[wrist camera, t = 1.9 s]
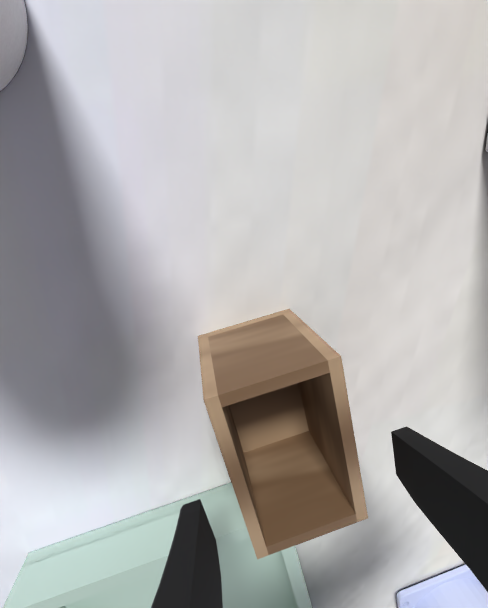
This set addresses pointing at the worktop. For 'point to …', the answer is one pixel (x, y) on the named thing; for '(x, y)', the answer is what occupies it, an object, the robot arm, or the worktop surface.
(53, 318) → the worktop surface
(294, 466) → the small crate
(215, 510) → the mint green tray
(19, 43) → the coffee cup
